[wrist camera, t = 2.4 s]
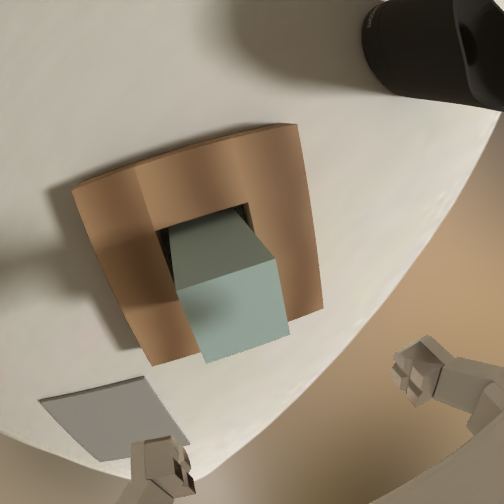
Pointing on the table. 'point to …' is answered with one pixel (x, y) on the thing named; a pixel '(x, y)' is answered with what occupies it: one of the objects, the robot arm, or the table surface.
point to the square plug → (226, 284)
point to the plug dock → (192, 206)
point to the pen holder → (439, 50)
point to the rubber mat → (114, 418)
